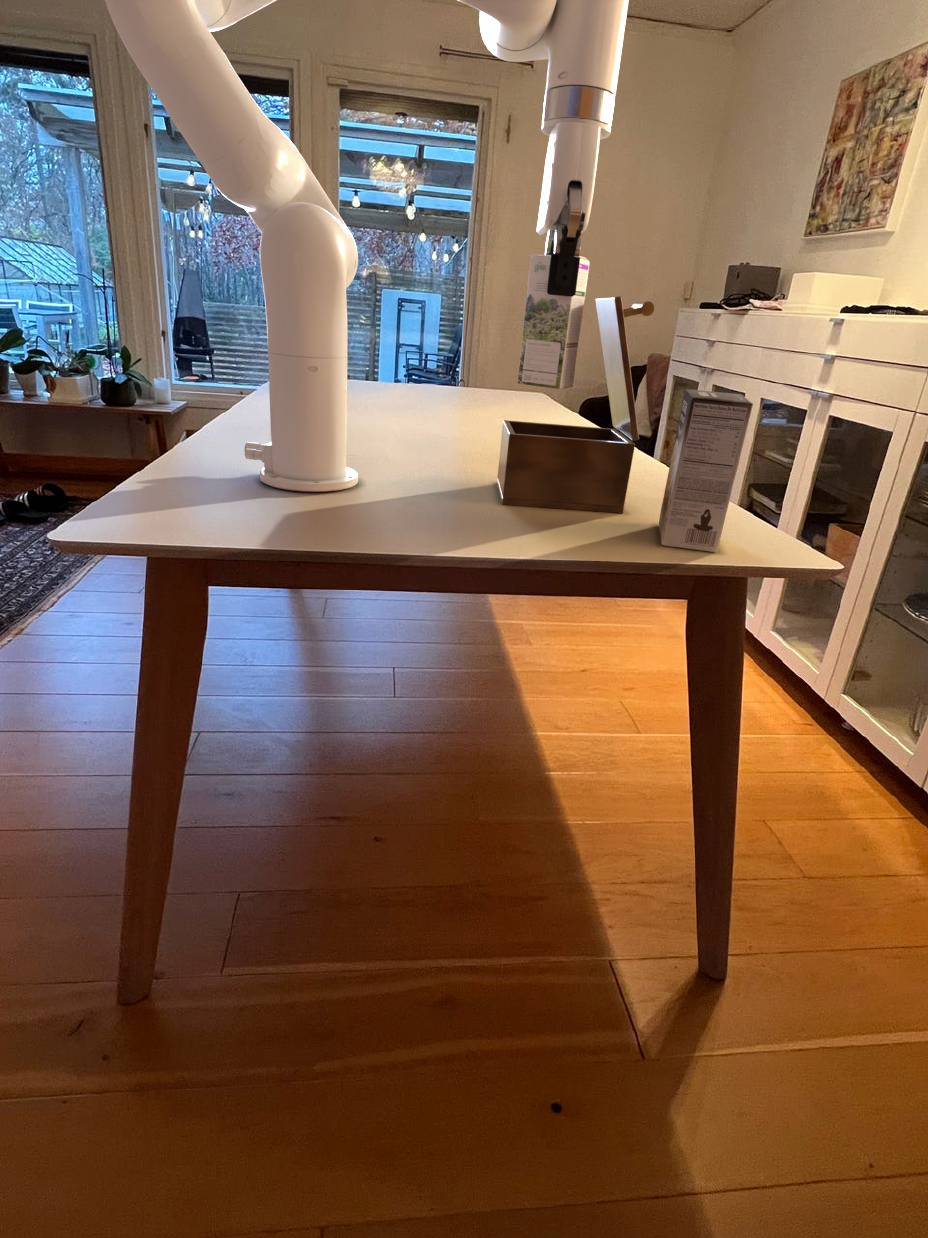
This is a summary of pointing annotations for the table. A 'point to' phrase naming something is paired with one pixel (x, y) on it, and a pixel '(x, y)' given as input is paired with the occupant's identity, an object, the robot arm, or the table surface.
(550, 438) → the brown wooden box
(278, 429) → the robot arm
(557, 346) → the syrup box
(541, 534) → the table surface
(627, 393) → the lid
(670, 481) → the coffee box
